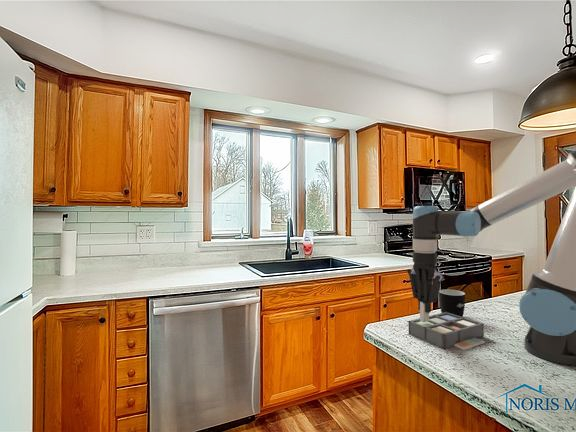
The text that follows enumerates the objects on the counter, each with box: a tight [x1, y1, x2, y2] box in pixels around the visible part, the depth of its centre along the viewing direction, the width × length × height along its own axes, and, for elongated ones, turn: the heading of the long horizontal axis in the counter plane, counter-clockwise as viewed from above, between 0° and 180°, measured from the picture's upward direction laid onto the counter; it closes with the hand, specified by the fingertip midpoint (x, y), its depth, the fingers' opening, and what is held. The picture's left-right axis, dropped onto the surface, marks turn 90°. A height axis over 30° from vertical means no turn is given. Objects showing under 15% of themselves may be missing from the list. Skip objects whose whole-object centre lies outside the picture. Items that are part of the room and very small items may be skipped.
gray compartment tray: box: [408, 312, 486, 351], centre depth 100 cm, size 17×20×4 cm
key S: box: [431, 326, 452, 333], centre depth 96 cm, size 4×4×2 cm
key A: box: [441, 315, 457, 320], centre depth 107 cm, size 4×4×2 cm
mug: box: [438, 289, 466, 317], centre depth 119 cm, size 12×9×10 cm
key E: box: [417, 322, 434, 327], centre depth 102 cm, size 4×4×2 cm
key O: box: [458, 320, 475, 326], centre depth 102 cm, size 4×4×2 cm
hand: (424, 320), depth 102 cm, fingers closed
